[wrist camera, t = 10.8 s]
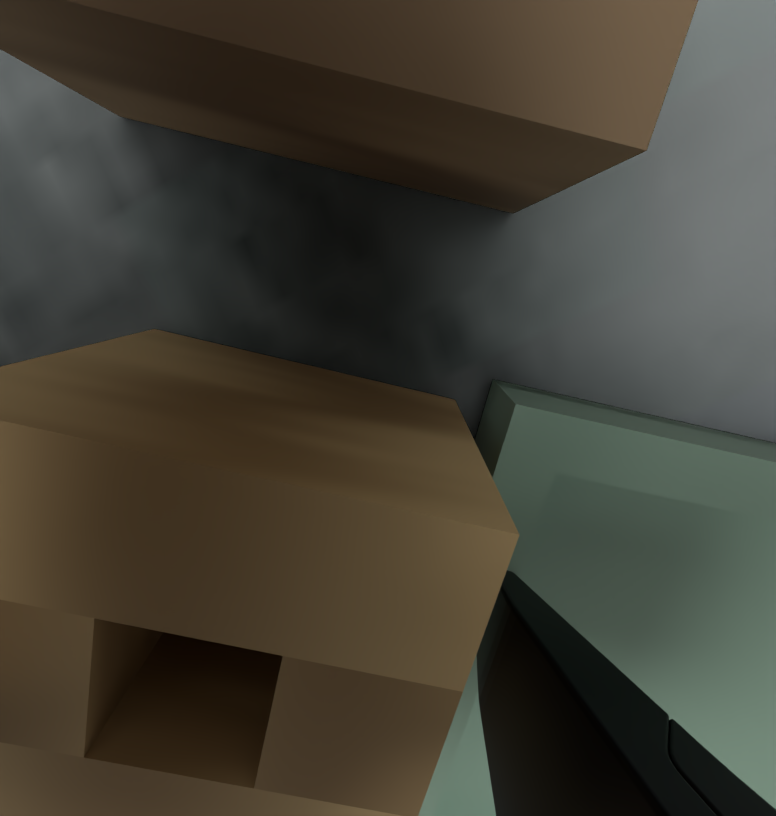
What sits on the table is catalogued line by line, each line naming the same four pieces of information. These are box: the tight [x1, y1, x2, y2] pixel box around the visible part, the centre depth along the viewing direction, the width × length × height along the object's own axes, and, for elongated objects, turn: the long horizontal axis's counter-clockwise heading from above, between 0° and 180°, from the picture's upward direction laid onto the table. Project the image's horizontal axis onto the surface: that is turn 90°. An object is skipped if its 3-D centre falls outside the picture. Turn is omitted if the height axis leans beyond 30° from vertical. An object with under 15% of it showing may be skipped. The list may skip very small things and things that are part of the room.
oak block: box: [0, 329, 519, 816], centre depth 8 cm, size 6×6×5 cm
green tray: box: [418, 379, 776, 816], centre depth 11 cm, size 14×13×2 cm
